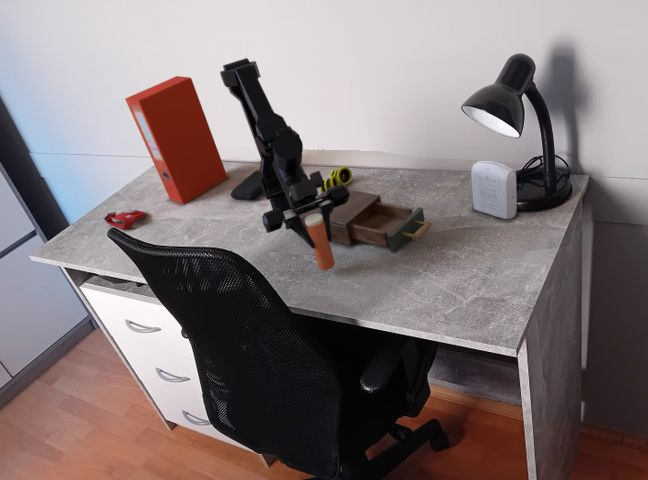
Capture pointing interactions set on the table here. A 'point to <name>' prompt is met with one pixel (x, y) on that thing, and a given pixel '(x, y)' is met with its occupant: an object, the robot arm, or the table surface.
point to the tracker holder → (124, 218)
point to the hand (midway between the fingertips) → (322, 244)
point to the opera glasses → (337, 178)
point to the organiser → (345, 215)
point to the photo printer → (494, 189)
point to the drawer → (389, 225)
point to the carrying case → (248, 188)
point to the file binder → (178, 138)
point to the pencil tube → (320, 241)
